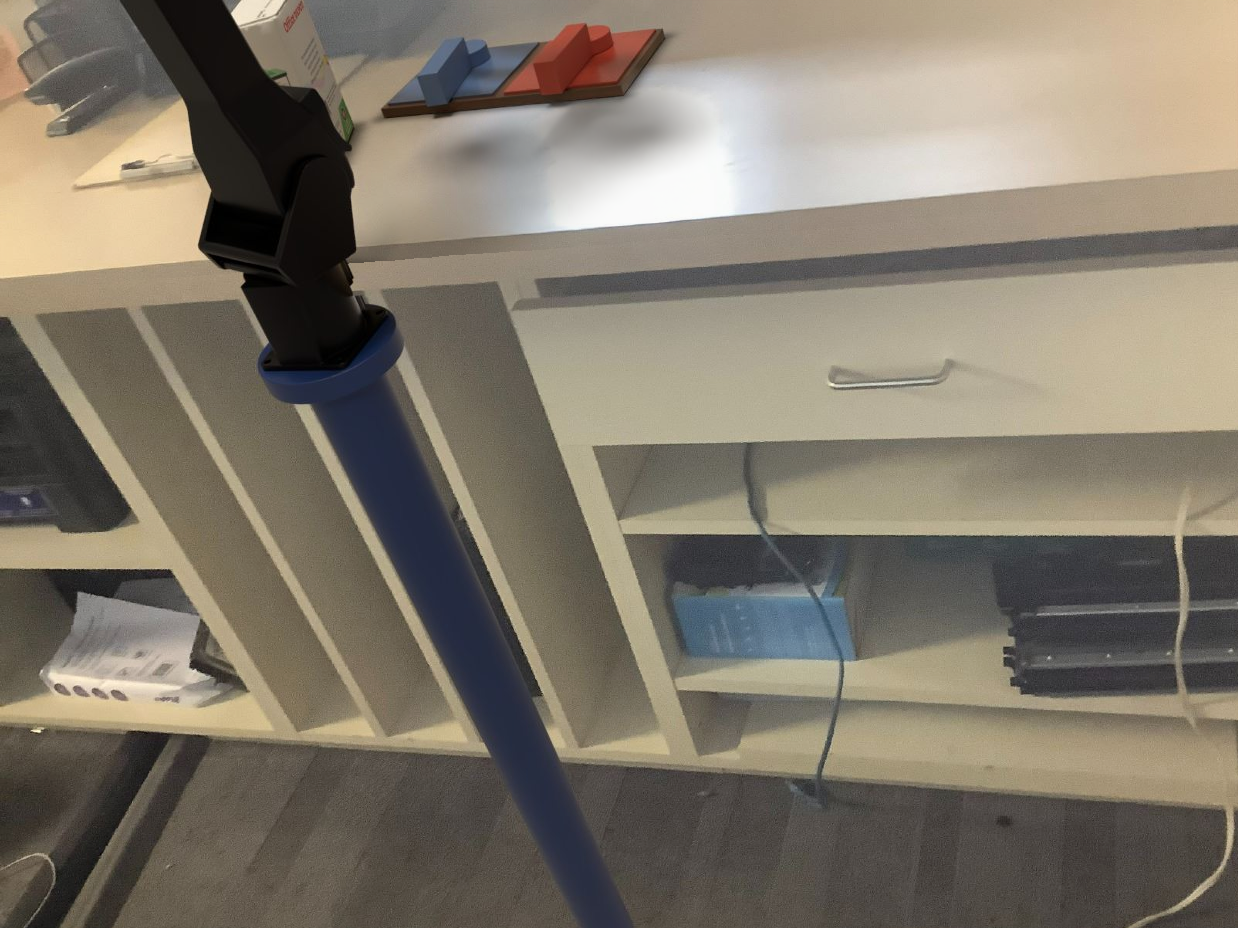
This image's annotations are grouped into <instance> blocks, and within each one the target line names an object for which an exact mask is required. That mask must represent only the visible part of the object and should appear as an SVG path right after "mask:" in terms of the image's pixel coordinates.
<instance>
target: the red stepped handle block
mask: <svg viewBox="0 0 1238 928" xmlns="http://www.w3.org/2000/svg"><path fill="white" fill-rule="evenodd" d="M611 34H612V32H611V28H610V26H607V25H604V24H594V25H588V24H587V22H581V23H573V24H566V25H565V26H564V27H563V29H562V30H561V31H560V32H559V33H558V34H557V35H556V37H555V38H554V39H552V40H553V41H552V42H551V43H550V44H549V46H548V47H547V48H546V49H545V50H544V51H543V52H542V53H541V55H540V56H539V57H538V58H537V59H536V60H535V61H534V62H533V66H534V70H535V73H536V77H537V80H538V84H539V87H540V91H541V94H542V95H550V94H561V93H563V92H564V90H565V89H566V88H567V87H568V85H569V84H570V83H571V82H572V80H573V79H574V78H575V77H576V76H577V74H578V73H579V72H580V71H581V69H582V68H583V67H584V66H585V64H586V63H587V62H588V61H589V60H590V58H591V57H592V56H593V55H595V54H598V53H601V52H603V51H605V50H607V49H608V48H610V47H611V46H612V44H613V40H612V36H611Z"/></svg>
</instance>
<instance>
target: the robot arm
mask: <svg viewBox="0 0 1238 928" xmlns="http://www.w3.org/2000/svg"><path fill="white" fill-rule="evenodd" d="M118 1H119V2H120V4H121V6H122V7H123V9H124V10H125V12H126V13H127V15H128V16H129V18H130V19H131V20H132V23H133V24H134V26H135V27H136V29H137V30H138V32H139V33H140V35H141V37H142V38H143V40H144V41H145V43H146V44H147V46H148V48H149V49H150V50H151V52H152V53H153V55H154V57H155V58H156V60H157V61H158V63H159V65H160V66H161V68H162V69H163V70H164V72H165V74H166V75H167V77H168V78H169V80H170V81H171V83H172V85H173V86H174V88H175V90H176V91H177V92H178V94H179V95H180V97H181V99H182V100H183V103H184V105H185V108H186V110H187V118H188V125H189V133H190V139H191V148H192V152H193V155H194V157H195V159H196V161H197V163H198V165H199V167H200V170H201V172H202V174H203V176H204V178H205V180H206V182H207V185H208V187H209V189H210V194H209V198H208V201H207V206H206V210H205V214H204V218H203V222H202V226H201V231H200V234H199V238H198V243H197V248H198V250H199V251H200V252H201V253H202V254H203V255H204V257H206V258H207V259H208V260H209V261H211V263H212V264H214V266H216V267H217V268H218V269H221V270H224V271H226V270H229V271H230V270H231V271H235V272H239V273H242V278H243V280H244V283H242V284H241V285H240V289H241V291H242V293H243V295H244V296H245V299H246V301H247V303H248V305H249V307H250V309H251V311H252V313H253V314H254V317H255V318H256V321H257V322H258V324H259V326H260V328H261V329H262V332H263V333H264V335H265V338H266V339H267V341H268V343H270V345H271V347H272V350H271V352H270V353H269V354H268V355H267V356H266V357H265V358H264V359H263V360H262V362H261V363H260V365H261V367H262V369H263V370H264V371H335V370H343V369H346V368H347V367H348V366H349V365H350V364H351V363H352V362H353V360H354V359H355V358H356V357H357V355H358V354H359V353H360V352H361V350H362V349H363V348H364V347H365V345H366V344H367V343H368V342H369V340H370V339H371V338H372V337H373V335H374V334H375V333H376V332H377V330H378V329H379V328H380V327H381V325H382V324H383V323H384V322H385V320H386V319H387V318H388V313H387V311H386V309H387V308H386V309H365V305H366V304H367V303H366V302H365V299H364V297H363V295H354V292H353V290H352V288H351V286H352V285H353V284H354V278H355V276H354V274H353V272H352V270H351V267H350V266H349V263H348V261H347V259H348V258H349V257H351V256H353V255H354V254H355V253H356V252H357V240H356V233H355V232H356V230H355V223H354V213H353V204H352V192H353V191H352V190H353V189H354V188H355V186H356V181H355V175H354V171H353V168H352V165H351V163H350V161H349V158H348V157H347V155H346V154H345V153H349V152H352V150H353V147H352V145H351V144H350V143H349V142H348V141H347V142H346V141H345V140H344V139H343V138H342V137H341V135H340V134H339V133H338V131H337V130H336V128H335V127H334V124H333V122H332V120H331V117H330V115H329V112H328V109H327V107H326V104H325V102H324V100H323V99H322V97H321V96H320V95H319V93H318V92H317V90H316V89H314V88H306V87H295V86H284V85H279V84H277V83H276V82H275V81H274V80H273V79H272V78H271V77H270V76H269V75H268V74H267V73H266V72H265V71H264V69H263V68H262V66H261V65H260V63H259V61H258V60H257V58H256V56H255V54H254V53H253V51H252V49H251V47H250V46H249V44H248V42H247V41H246V39H245V37H244V35H243V34H242V32H241V30H240V28H239V27H238V25H237V23H236V22H235V20H234V18H233V16H232V15H231V13H232V12H231V11H230V9H229V8H228V6H227V4H226V3H225V0H118Z"/></svg>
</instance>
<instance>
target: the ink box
mask: <svg viewBox="0 0 1238 928" xmlns="http://www.w3.org/2000/svg"><path fill="white" fill-rule="evenodd" d="M230 13H231V15H232V16H233V18H234V20H235V22H236V23H237V25H238V27H239V28H240V30H241V32H242V34H243V35H244V37H245V39H246V41H247V42H248V44H249V46H250V47H251V49H252V51H253V53H254V54H255V56H256V58H257V60H258V61H259V63H260V65H261V66H262V68H263V69H264V71H265V72H266V73H267V74H268V75H269V76H270V77H271V78H272V79H273V80H274V81H275V82H276V83H277V84H279V85H284V86H295V87H306V88H314V89H316V90H317V92H318V93H319V95H320V96H321V97H322V99H323V100H324V102H325V104H326V107H327V109H328V112H329V115H330V117H331V120H332V122H333V124H334V127H335V128H336V130H337V131H338V133H339V134H340V135H341V137H342V138H343V139H344V140H345V141H346V142H348V141H349V139H350V137H351V134H352V131H353V129H354V126H355V124H354V121H353V119H352V117H351V114H350V111H349V109H348V107H347V103H346V101H345V99H344V96H343V94H342V92H341V89H340V87H339V84H338V82H337V79H336V77H335V74H334V72H333V70H332V67H331V64H330V62H329V59H328V57H327V54H326V51H325V49H324V47H323V44H322V42H321V39H320V37H319V34H318V32H317V29H316V27H315V26H316V25H315V24H314V21H313V19H312V17H311V14H310V12H309V9H308V6H307V5H306V2H305V0H240V1H239V3H238V4H237V5H236V6H235V8H234V9H233V10H232V11H231V12H230Z"/></svg>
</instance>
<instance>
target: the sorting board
mask: <svg viewBox="0 0 1238 928" xmlns="http://www.w3.org/2000/svg"><path fill="white" fill-rule="evenodd" d="M611 36H612V40H613V44H612V46H611V47H610V48H608V49H607V50H605V51H603V52H601V53H598V54H595V55H593V56H592V57H591V58H590V60H589V61H588V62H587V63H586V64H585V66H584V67H583V68H582V69H581V71H580V72H579V73H578V74H577V76H576V77H575V78H574V79H573V80H572V82H571V83H570V84H569V85H568V87H567V88H566V89H565V90H564V92H563V93H561V94H550V95H542V94H541V91H540V87H539V84H538V80H537V77H536V73H535V70H534V66H533V62H534V61H535V60H536V59H537V58H538V57H539V56H540V55H541V53H542V52H543V51H544V50H545V49H546V48H547V47H548V46H549V44H550V43H551V42H552V41H553V40H554V39H552V40H548V41H534V42H525V43H524V42H523V43H515V44H506V45H499V46H489V47H488V46H487V47H488V50H489V53H490V58H489V59H488V60H487V61H486V62H484V63H483V64H481V65H478V66H476V67H473V68H472V69H471V70H470V72H469V73H468V75H467V76H466V78H465V79H464V81H463V82H462V83H461V85H460V86H459V88H458V89H457V91H456V92H455V93H454V95H453V96H452V98H451V99H450V101H449V102H448V104H443V105H436V106H430V107H427V104H426V101H425V98H424V95H423V93H422V90H421V87H420V84H419V81H418V79H417V75H418V74H419V72H418V73H417V74H415V76H414V77H412V78H411V79H410V80H409V82H407V83H406V84H405V85H404V86H403V87H402V88H401V89H400V90H399V91H398V92H397V93H396V94H395V95H394V96H393V97H391V98H390V100H389V101H387V102H386V103H385V104H384V105H383V106H382V107H381V108H380V111H381V113H382V114H381V115H382V116H383V118H395V117H406V116H418V115H427V114H437V113H447V112H458V111H469V110H479V109H480V110H481V109H490V108H491V109H492V108H501V107H502V108H503V107H512V106H523V105H535V104H543V103H544V104H545V103H554V102H555V103H556V102H565V101H575V100H576V101H577V100H586V99H597V98H607V97H618V96H620V97H621V96H624V95H625V94H626V92H627V90H628V89H629V88H630V86H631V85H632V84H633V82H634V81H635V80H636V78H637V77H638V76H639V74H640V73H641V71H642V70H643V69H644V67H645V66H646V64H647V63H648V61H649V60H650V59H651V58H652V56H653V54H654V53H655V52H656V50H657V49H658V48H659V47H660V45H661V44H662V42H663V41H664V39H665V32H664V28H648V29H640V30H630V31H622V32H621V31H620V32H613V33H612V32H611Z"/></svg>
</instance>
